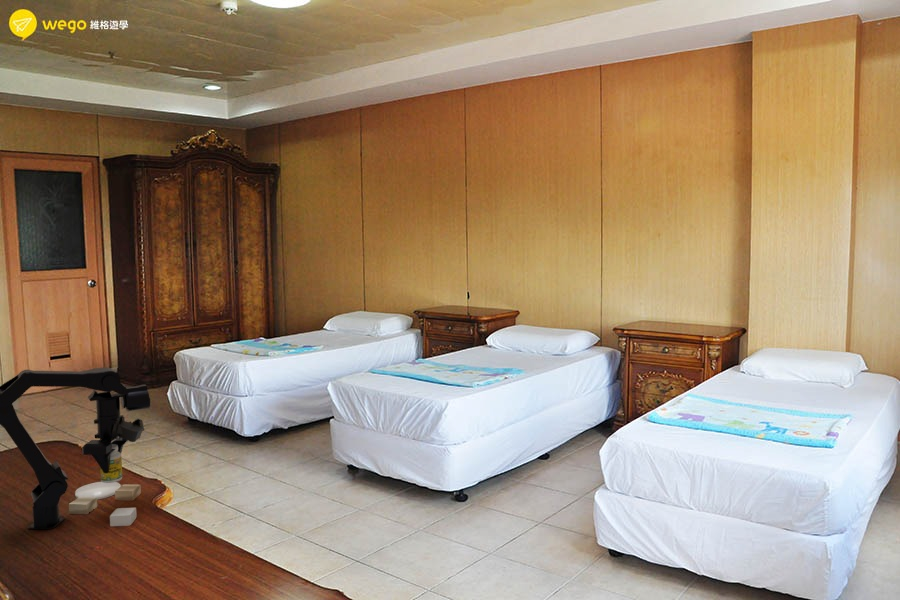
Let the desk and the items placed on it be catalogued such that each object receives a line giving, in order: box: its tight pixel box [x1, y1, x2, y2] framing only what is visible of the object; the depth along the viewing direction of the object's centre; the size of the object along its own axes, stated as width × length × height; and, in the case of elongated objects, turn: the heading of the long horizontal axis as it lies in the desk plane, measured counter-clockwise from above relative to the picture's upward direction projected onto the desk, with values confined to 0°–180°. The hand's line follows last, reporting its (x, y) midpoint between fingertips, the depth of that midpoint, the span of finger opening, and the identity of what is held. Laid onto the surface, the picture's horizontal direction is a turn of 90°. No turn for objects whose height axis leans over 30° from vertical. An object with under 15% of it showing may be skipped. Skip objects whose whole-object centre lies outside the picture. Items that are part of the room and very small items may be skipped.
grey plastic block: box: [109, 507, 137, 527], centre depth 180 cm, size 5×5×3 cm
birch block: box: [68, 497, 98, 515], centre depth 187 cm, size 5×5×3 cm
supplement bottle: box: [100, 444, 123, 483], centre depth 186 cm, size 5×5×10 cm
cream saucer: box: [74, 481, 122, 500], centre depth 200 cm, size 12×12×1 cm
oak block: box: [114, 484, 142, 501], centre depth 196 cm, size 5×5×3 cm
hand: (111, 469), depth 186 cm, fingers closed on supplement bottle, 5 cm apart
